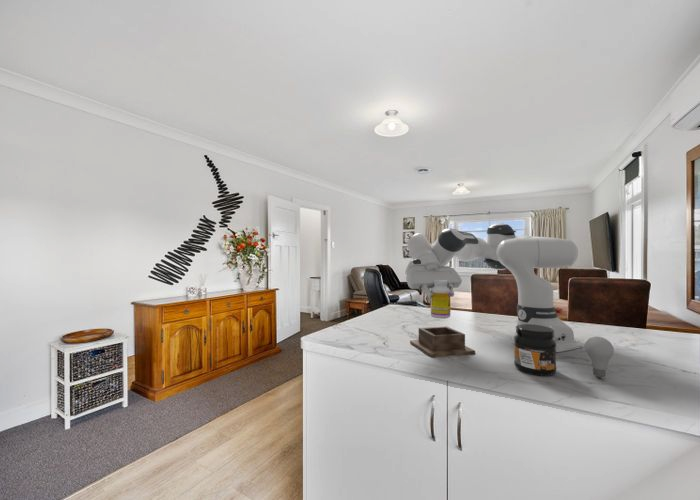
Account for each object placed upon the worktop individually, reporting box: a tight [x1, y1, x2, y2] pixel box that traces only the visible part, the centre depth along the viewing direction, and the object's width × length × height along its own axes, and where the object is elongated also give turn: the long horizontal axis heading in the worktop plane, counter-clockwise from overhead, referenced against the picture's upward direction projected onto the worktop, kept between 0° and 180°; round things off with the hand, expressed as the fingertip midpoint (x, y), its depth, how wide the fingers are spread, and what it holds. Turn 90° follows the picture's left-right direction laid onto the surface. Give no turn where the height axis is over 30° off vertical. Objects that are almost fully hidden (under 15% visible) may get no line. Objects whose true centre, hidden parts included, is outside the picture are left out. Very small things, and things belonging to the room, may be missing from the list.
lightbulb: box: [584, 336, 615, 379], centre depth 83 cm, size 6×6×11 cm
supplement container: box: [513, 324, 557, 377], centre depth 89 cm, size 10×10×12 cm
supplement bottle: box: [430, 280, 451, 319], centre depth 109 cm, size 7×7×13 cm
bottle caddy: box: [409, 325, 476, 359], centre depth 109 cm, size 16×16×6 cm
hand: (441, 296), depth 108 cm, fingers closed on supplement bottle, 7 cm apart
